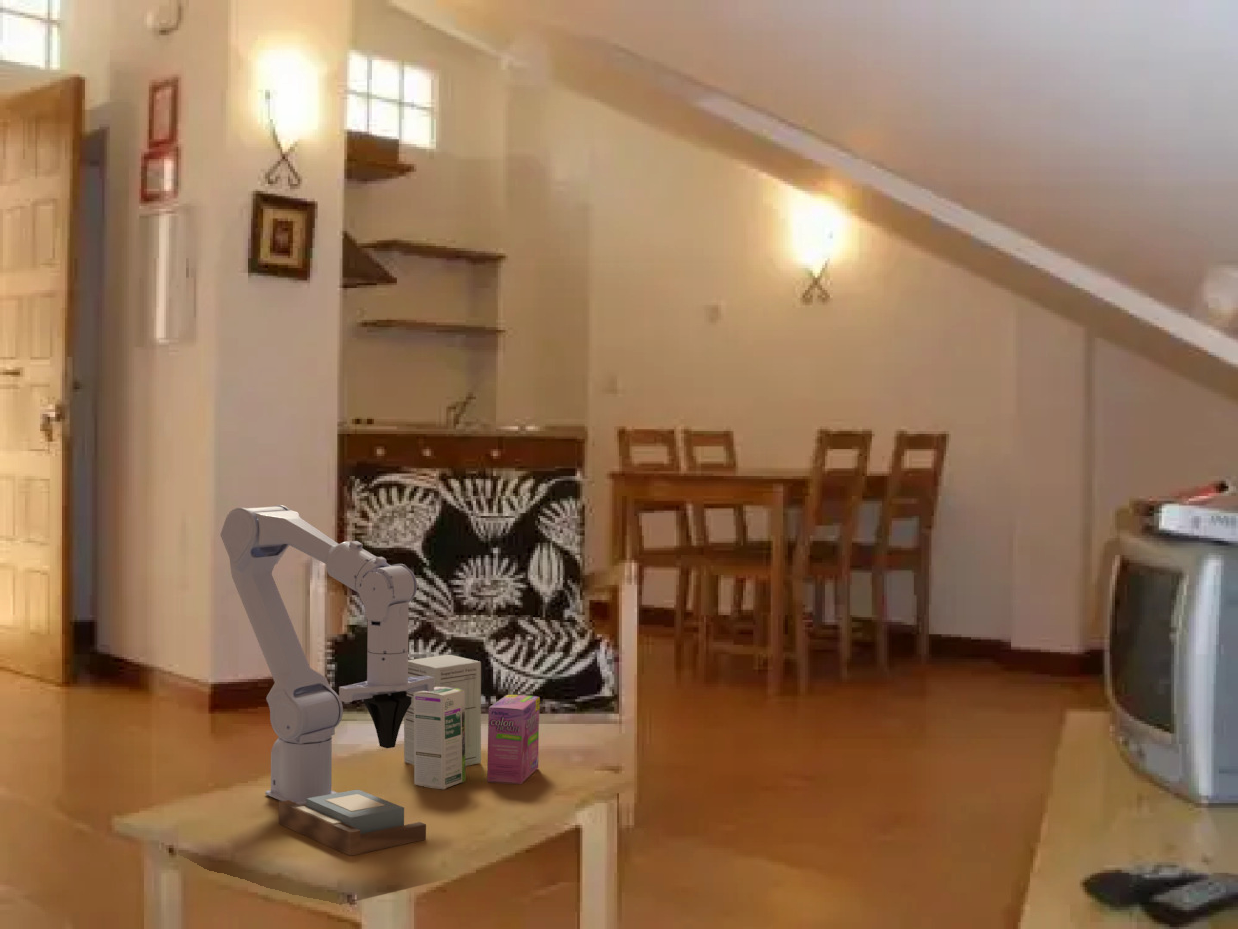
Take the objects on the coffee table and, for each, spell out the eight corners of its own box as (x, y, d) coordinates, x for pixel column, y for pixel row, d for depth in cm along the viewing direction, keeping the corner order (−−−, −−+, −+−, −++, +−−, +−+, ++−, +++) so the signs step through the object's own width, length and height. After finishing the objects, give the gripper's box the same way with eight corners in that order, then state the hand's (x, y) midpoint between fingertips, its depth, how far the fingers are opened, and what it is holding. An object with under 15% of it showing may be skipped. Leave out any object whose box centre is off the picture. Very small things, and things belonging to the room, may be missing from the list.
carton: (305, 831, 194) (306, 797, 194) (357, 821, 199) (357, 788, 199) (351, 852, 185) (351, 817, 185) (403, 841, 190) (404, 807, 190)
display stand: (278, 823, 196) (278, 800, 196) (351, 809, 204) (352, 787, 204) (350, 856, 182) (350, 831, 182) (425, 839, 190) (426, 815, 190)
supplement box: (449, 753, 239) (450, 653, 239) (482, 763, 233) (483, 660, 232) (401, 762, 233) (402, 659, 232) (434, 772, 226) (435, 667, 226)
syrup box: (443, 790, 215) (444, 694, 215) (412, 785, 218) (413, 690, 218) (465, 782, 220) (466, 688, 220) (434, 777, 223) (435, 685, 223)
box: (522, 785, 219) (522, 708, 219) (486, 782, 220) (487, 706, 220) (539, 769, 229) (540, 695, 229) (505, 767, 230) (505, 694, 230)
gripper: (357, 660, 194) (357, 759, 194) (446, 649, 204) (445, 744, 204) (331, 653, 199) (331, 750, 200) (419, 643, 209) (418, 736, 209)
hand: (387, 746), depth 202 cm, fingers closed
